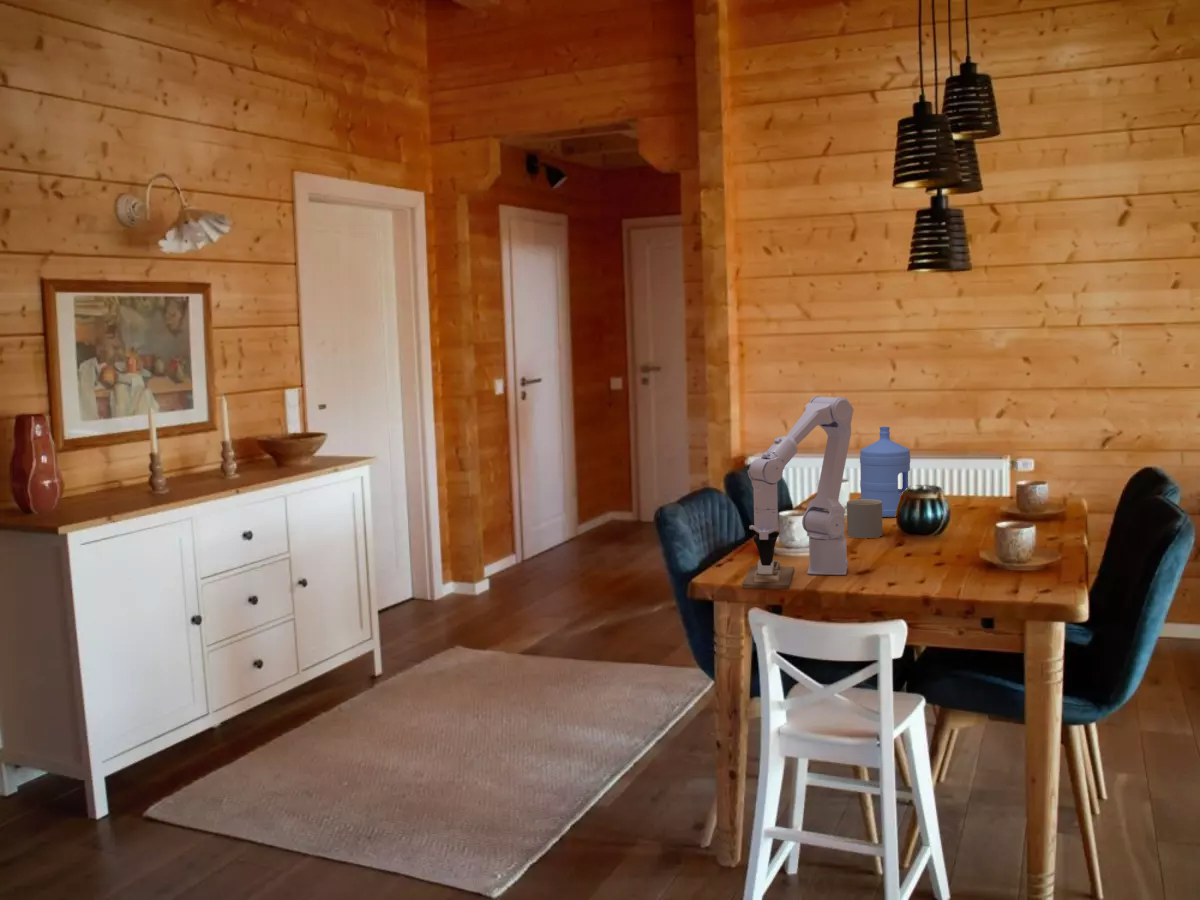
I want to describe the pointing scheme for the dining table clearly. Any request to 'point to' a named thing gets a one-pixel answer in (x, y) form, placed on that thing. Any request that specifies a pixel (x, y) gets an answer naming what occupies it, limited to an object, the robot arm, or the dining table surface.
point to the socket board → (769, 578)
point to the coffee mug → (864, 518)
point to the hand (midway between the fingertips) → (766, 563)
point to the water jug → (884, 472)
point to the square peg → (766, 569)
